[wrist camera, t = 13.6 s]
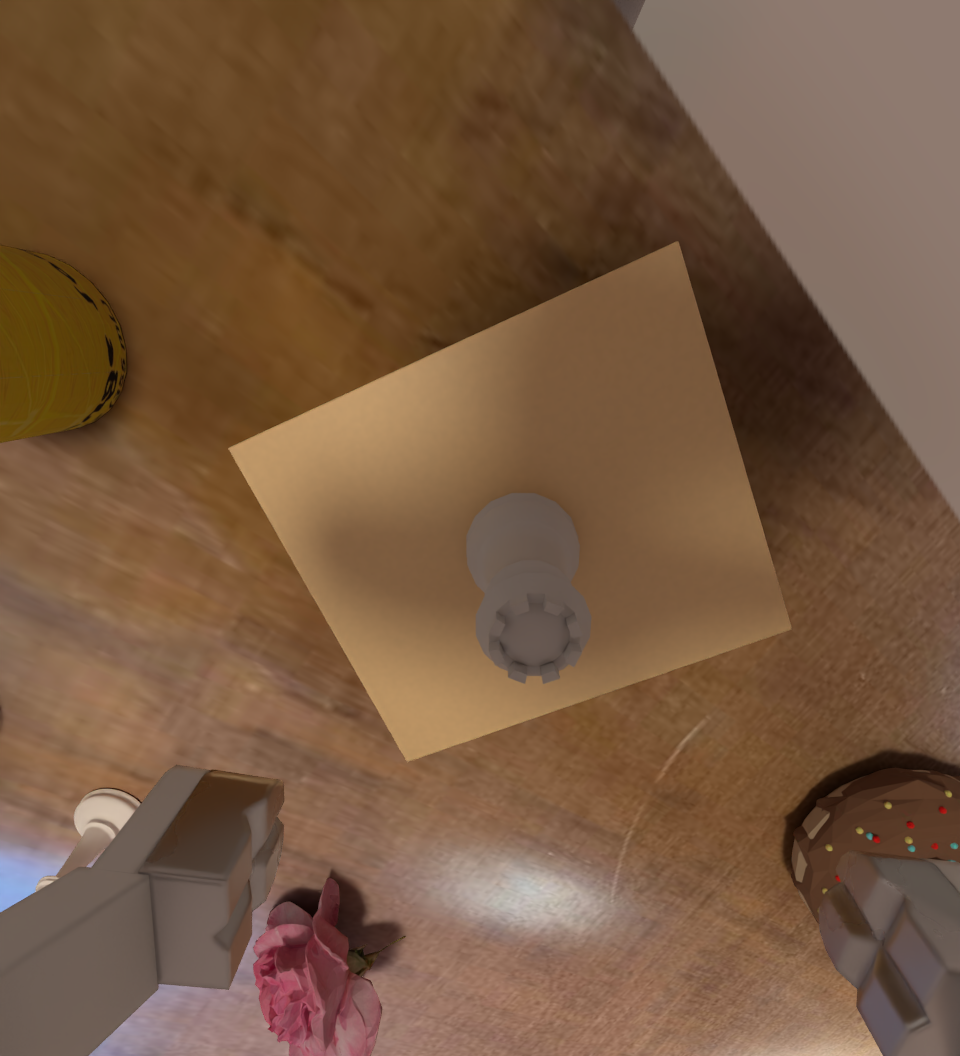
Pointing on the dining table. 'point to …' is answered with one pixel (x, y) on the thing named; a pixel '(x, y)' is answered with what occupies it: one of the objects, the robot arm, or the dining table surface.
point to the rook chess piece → (527, 586)
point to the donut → (876, 825)
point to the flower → (316, 982)
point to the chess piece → (96, 827)
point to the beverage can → (54, 347)
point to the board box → (527, 467)
